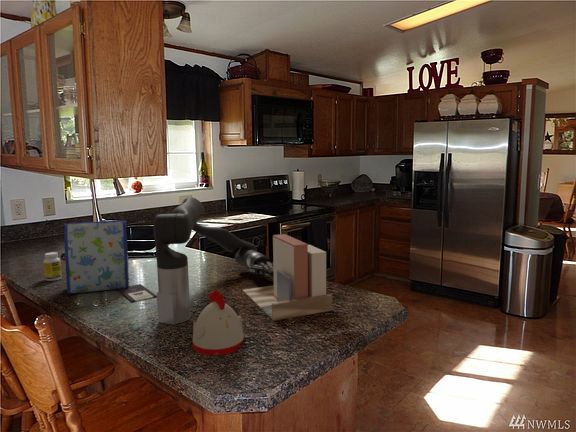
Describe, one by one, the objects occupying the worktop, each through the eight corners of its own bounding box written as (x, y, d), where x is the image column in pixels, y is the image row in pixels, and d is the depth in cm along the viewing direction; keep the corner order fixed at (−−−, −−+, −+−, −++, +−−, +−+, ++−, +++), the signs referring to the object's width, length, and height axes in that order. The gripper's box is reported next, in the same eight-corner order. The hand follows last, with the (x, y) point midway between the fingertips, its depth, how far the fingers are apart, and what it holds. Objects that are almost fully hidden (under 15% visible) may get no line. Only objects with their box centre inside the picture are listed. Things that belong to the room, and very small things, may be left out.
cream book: (296, 300, 147) (295, 246, 144) (309, 297, 149) (309, 244, 146) (311, 311, 136) (311, 253, 134) (326, 309, 138) (326, 251, 136)
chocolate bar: (140, 284, 169) (156, 295, 155) (140, 286, 169) (156, 298, 155) (116, 288, 164) (131, 301, 150) (117, 290, 164) (131, 303, 150)
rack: (242, 292, 159) (242, 276, 158) (291, 285, 167) (291, 270, 166) (274, 323, 130) (273, 304, 129) (332, 313, 138) (332, 295, 137)
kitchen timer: (206, 360, 108) (203, 303, 105) (184, 341, 119) (181, 289, 116) (253, 345, 116) (252, 292, 113) (229, 329, 127) (227, 280, 124)
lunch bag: (130, 278, 179) (125, 216, 175) (131, 289, 164) (126, 222, 160) (71, 284, 171) (65, 220, 168) (66, 297, 156) (59, 226, 152)
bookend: (261, 307, 140) (260, 272, 138) (279, 305, 143) (278, 270, 141) (272, 318, 131) (271, 280, 129) (291, 315, 134) (291, 278, 132)
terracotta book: (273, 296, 151) (272, 235, 148) (285, 294, 153) (284, 234, 150) (294, 313, 135) (294, 245, 132) (307, 311, 137) (307, 243, 133)
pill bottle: (54, 281, 175) (52, 255, 174) (41, 281, 177) (38, 254, 175) (65, 277, 181) (63, 251, 180) (52, 276, 183) (50, 251, 181)
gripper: (242, 255, 168) (256, 266, 153) (273, 252, 173) (290, 262, 158) (242, 274, 169) (257, 286, 154) (273, 270, 175) (291, 281, 159)
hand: (274, 274), depth 156 cm, fingers closed
